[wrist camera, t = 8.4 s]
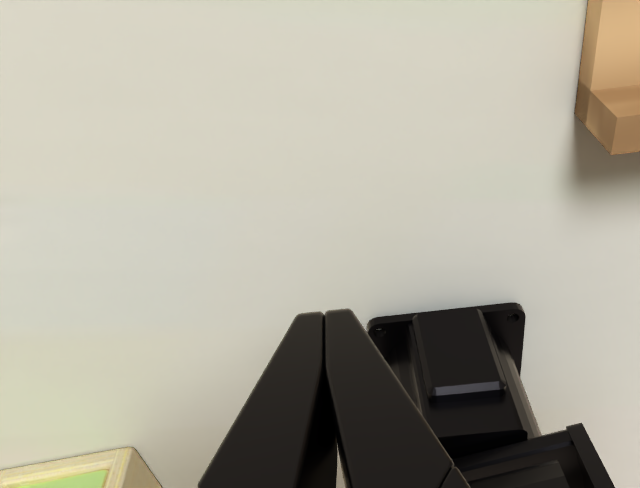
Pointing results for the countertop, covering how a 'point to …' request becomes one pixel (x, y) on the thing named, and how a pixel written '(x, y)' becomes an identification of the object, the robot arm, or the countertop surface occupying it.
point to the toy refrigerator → (84, 472)
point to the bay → (611, 75)
